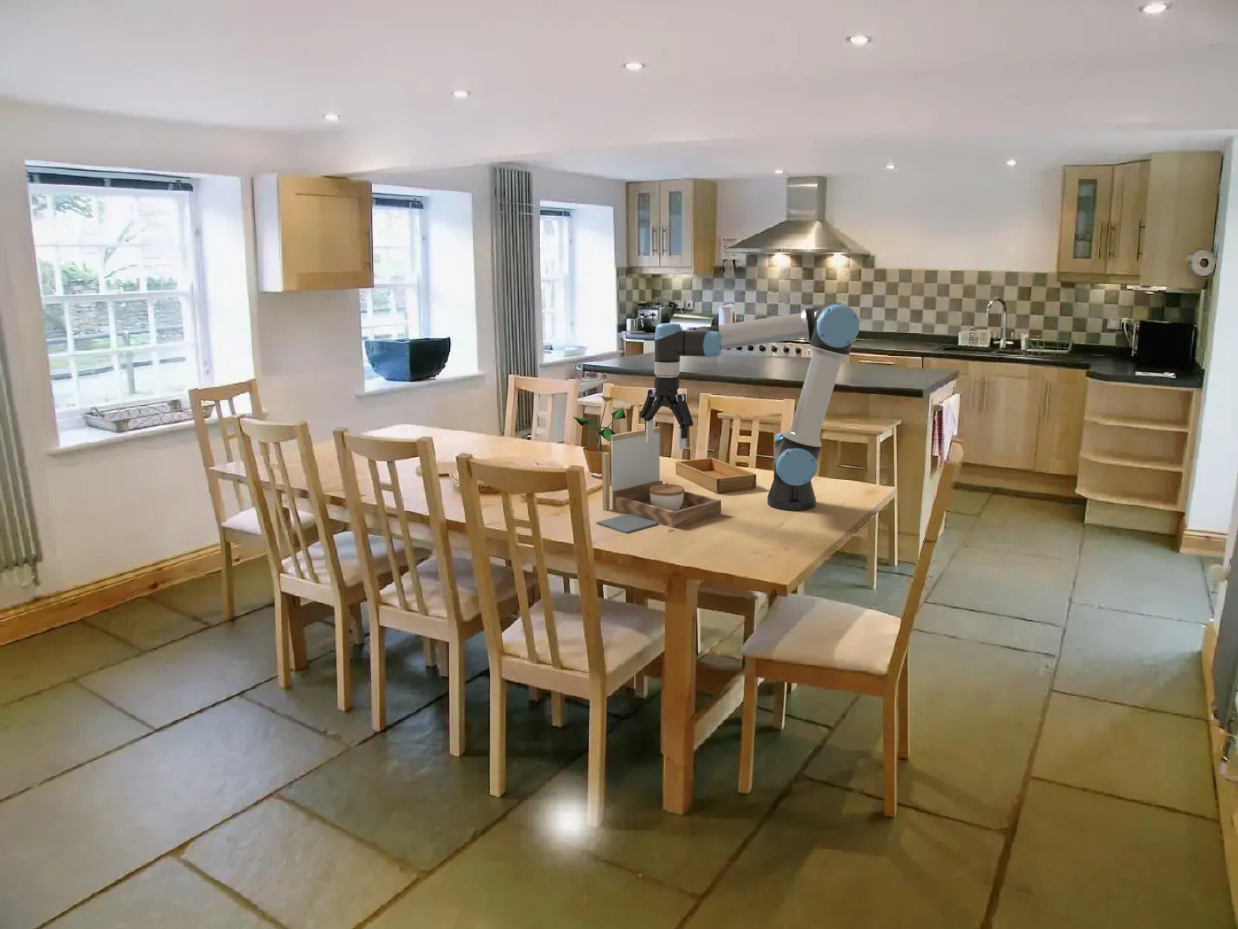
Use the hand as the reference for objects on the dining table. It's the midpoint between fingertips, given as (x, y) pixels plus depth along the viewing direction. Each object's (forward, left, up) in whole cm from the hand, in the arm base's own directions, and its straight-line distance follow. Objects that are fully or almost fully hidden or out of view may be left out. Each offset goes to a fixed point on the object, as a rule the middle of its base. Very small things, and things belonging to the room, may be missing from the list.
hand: (665, 445), depth 282 cm
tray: (+16, -40, -22) cm, 48 cm away
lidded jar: (0, 0, -21) cm, 21 cm away
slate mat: (-1, +17, -21) cm, 27 cm away
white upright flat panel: (+14, +1, -21) cm, 25 cm away
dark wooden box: (0, 0, -21) cm, 21 cm away
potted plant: (+51, -18, -21) cm, 58 cm away
